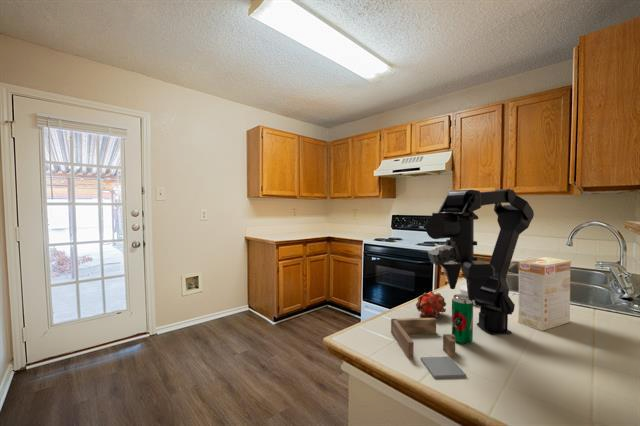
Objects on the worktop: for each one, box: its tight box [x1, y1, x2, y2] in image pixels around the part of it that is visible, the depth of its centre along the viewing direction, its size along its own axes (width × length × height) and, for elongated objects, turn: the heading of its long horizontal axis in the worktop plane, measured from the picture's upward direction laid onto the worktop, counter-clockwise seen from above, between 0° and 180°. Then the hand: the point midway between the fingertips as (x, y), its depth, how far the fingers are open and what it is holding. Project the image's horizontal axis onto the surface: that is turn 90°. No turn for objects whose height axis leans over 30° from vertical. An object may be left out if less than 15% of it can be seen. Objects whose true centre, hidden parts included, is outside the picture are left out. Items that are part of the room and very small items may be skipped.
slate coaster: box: [420, 356, 467, 379], centre depth 61 cm, size 7×7×1 cm
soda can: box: [451, 293, 474, 345], centre depth 74 cm, size 5×5×12 cm
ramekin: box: [458, 283, 476, 306], centre depth 104 cm, size 11×11×5 cm
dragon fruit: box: [415, 290, 447, 319], centre depth 91 cm, size 8×8×12 cm
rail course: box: [390, 317, 456, 360], centre depth 72 cm, size 13×14×4 cm
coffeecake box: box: [517, 256, 571, 332], centre depth 85 cm, size 15×7×20 cm, turn 113°
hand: (461, 294), depth 74 cm, fingers open, 9 cm apart
